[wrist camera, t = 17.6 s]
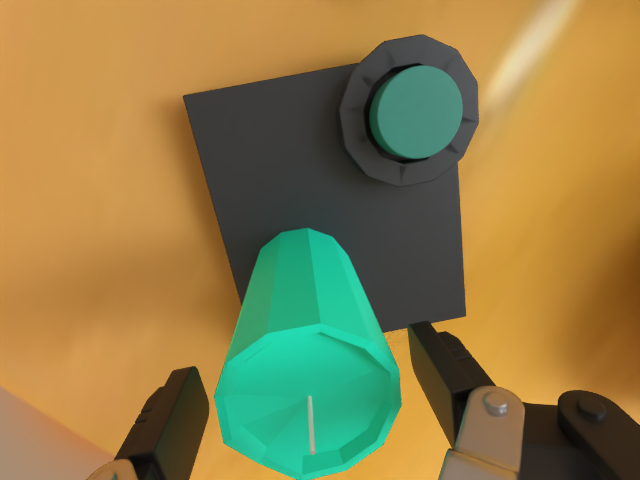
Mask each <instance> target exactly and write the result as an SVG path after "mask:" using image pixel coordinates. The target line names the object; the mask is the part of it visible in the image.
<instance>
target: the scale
mask: <svg viewBox="0 0 640 480" xmlns="http://www.w3.org/2000/svg"><path fill="white" fill-rule="evenodd" d="M421 65H424V66H432V67H435V68H438V69H440V70H442V71H444V72H445V73H446V74H448V75H449V76H450V77H451V78H452V79H453V81H454V82H455V83H456V85H457V87H458V89H459V91H460V94H461V98H462V105H463V112H462V119H461V123H460V126H459V128H458V131H457V133H456V134H455V136H454V138H453V139H452V140H451V142H450V143H449V144H448V145H447V146H446V147H445V148H444V149H442V150H441V151H440V152H438V153H436V154H434V155H432V156H430V157H426V158H421V159H410V158H405V157H400V156H396V155H393V154H390V153H388V152H387V151H385V150H384V149H383V148H382V147H381V146H380V145H379V144H378V143H377V141H376V140H375V138H374V136H373V134H372V131H371V128H370V122H369V113H370V107H371V103H372V100H373V98H374V96H375V94H376V93H377V91H378V90H379V88H380V87H381V86H382V85H383V84H384V83H385V82H386V81H387V80H389V79H390V78H392V77H393V76H395V75H397V74H398V73H400V72H402V71H403V70H405V69H408V68H410V67H414V66H421ZM183 99H184V103H185V106H186V110H187V114H188V117H189V121H190V124H191V128H192V131H193V135H194V138H195V142H196V146H197V149H198V153H199V156H200V160H201V163H202V167H203V170H204V174H205V178H206V181H207V185H208V188H209V192H210V195H211V199H212V202H213V206H214V210H215V213H216V217H217V220H218V224H219V227H220V231H221V235H222V238H223V242H224V245H225V249H226V252H227V256H228V259H229V263H230V267H231V270H232V274H233V277H234V281H235V284H236V288H237V291H238V295H239V299H240V302H241V306H242V305H243V302H244V298H245V295H246V292H247V289H248V285H249V282H250V279H251V276H252V273H253V270H254V267H255V264H256V261H257V258H258V256H259V253H260V250H261V248H262V247H264V246H265V245H266V244H267V243H269V242H270V241H271V240H272V239H274V238H275V237H276V236H277V235H278V234H280V233H281V232H286V231H292V230H298V229H304V228H310V229H312V230H315V231H318V232H321V233H324V234H326V235H329V236H332V237H333V238H334V239H335V240H336V241H337V243H338V244H339V245H340V246H341V247H342V249H343V250H344V251H345V252H346V253H347V255H348V256H349V258H350V260H351V263H352V265H353V267H354V269H355V272H356V274H357V276H358V278H359V281H360V283H361V285H362V287H363V290H364V292H365V294H366V296H367V299H368V301H369V303H370V305H371V308H372V310H373V312H374V314H375V317H376V319H377V321H378V323H379V326H380V328H381V330H382V332H383V333H384V332H389V331H394V330H399V329H404V328H408V324H412V323H418V322H423V321H429V322H430V323H434V322H439V321H444V320H450V319H455V318H460V317H465V316H466V307H465V289H464V270H463V252H462V233H461V215H460V196H459V178H458V161H459V160H460V159H462V157H463V156H464V154H465V152H466V149H467V147H468V145H469V143H470V141H471V138H472V136H473V134H474V132H475V130H476V128H477V125H478V123H479V113H478V84H477V81H476V79H475V78H474V76H473V74H472V73H471V71H470V70H469V68H468V66H467V65H466V63H465V62H464V60H463V58H462V57H461V55H460V53H459V52H458V51H457V50H456V49H454V48H452V47H451V46H448V45H446V44H443V43H441V42H439V41H437V40H435V39H432V38H430V37H428V36H426V35H424V34H423V35H421V34H420V35H415V36H409V37H404V38H399V39H393V40H388V41H384V42H383V43H381V44H380V45H379V46H378V47H377V48H375V49H374V50H373V51H372V52H371V53H370V54H369V55H368V56H367V57H366V58H364V59H363V60H362V61H361V62H360V63H355V64H350V65H344V66H339V67H334V68H328V69H323V70H318V71H312V72H307V73H301V74H296V75H291V76H285V77H280V78H275V79H269V80H264V81H258V82H253V83H248V84H242V85H237V86H232V87H226V88H221V89H215V90H210V91H205V92H199V93H194V94H189V95H184V96H183Z"/></svg>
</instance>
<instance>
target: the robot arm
mask: <svg viewBox="0 0 640 480" xmlns="http://www.w3.org/2000/svg"><path fill="white" fill-rule="evenodd" d="M408 337H409V346H410V355H411V362H412V366H413V370H414V373H415V375H416V377H417V379H418V381H419V383H420V385H421V387H422V389H423V391H424V393H425V395H426V397H427V399H428V401H429V403H430V405H431V407H432V409H433V411H434V413H435V415H436V417H437V419H438V421H439V423H440V425H441V427H442V429H443V431H444V433H445V435H446V437H447V439H448V441H449V443H450V445H451V447H452V449H451V448H449V449H448V451H447V453H446V455H445V458H444V462H443V465H442V468H441V472H440V475H439V479H438V480H640V425H639V424H638V423H637V422H635V421H634V420H633V419H632V418H631V417H630V416H629V415H628V414H627V413H626V412H624V411H623V410H622V409H621V408H620V407H619V406H618V405H616V404H615V403H614V402H612V401H611V400H609V399H607V398H605V397H604V396H601V395H599V394H596V393H593V392H588V391H582V390H572V391H567V392H565V393H563V394H562V395H561V396H560V397H559V399H558V405H542V404H530V403H525V402H522V401H521V400H520V399H519V398H518V397H517V396H516V395H515V394H514V393H512V392H510V391H509V390H507V389H504V388H501V387H497V386H496V385H495V384H494V382H493V381H492V380H491V379H490V378H489V376H488V375H487V374H486V373H485V371H484V370H483V369H482V368H481V366H480V365H479V364H478V363H477V361H476V360H475V359H474V358H472V355H471V354H470V353H469V351H468V350H466V348H465V346H464V345H463V344H462V343H461V341H460V340H459V339H458V338H457V337H455V336H453V335H451V334H450V333H448V332H446V331H444V332H439V333H437V332H436V330H435V329H434V328H433V326H432V325H431V323H430V322H429V321H423V322H418V323H412V324H408ZM208 416H209V401H208V398H207V395H206V392H205V389H204V386H203V383H202V380H201V378H200V375H199V372H198V369H197V368H196V367H195V366H192V367H187V368H182V369H177V370H173V371H172V373H171V374H170V376H169V378H168V380H167V382H166V384H165V386H164V387H159V388H158V389H157V390H156V391H155V392H154V393H153V394H152V395H151V396H150V397H149V398H148V400H147V401H146V403H145V405H144V407H143V409H142V410H141V414H139V416H138V418H137V419H136V421H135V424H134V425H133V427H132V428H131V430H130V432H129V434H128V435H127V437H126V439H125V441H124V443H123V444H122V446H121V448H120V450H119V452H118V453H117V455H116V457H115V459H114V461H112V462H109V463H107V464H105V465H103V466H102V467H100V468H99V469H97V470H96V471H95V472H94V473H92V474H91V475H90V476H89V477H88V478H87V479H86V480H189V479H190V475H191V472H192V469H193V466H194V462H195V459H196V456H197V453H198V449H199V446H200V443H201V440H202V436H203V433H204V430H205V427H206V423H207V420H208Z"/></svg>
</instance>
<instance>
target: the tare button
mask: <svg viewBox="0 0 640 480" xmlns="http://www.w3.org/2000/svg"><path fill="white" fill-rule="evenodd" d="M462 112H463V105H462V98H461V94H460V91H459V89H458V87H457V85H456V83H455V82H454V81H453V79H452V78H451V77H450V76H449V75H448V74H446V73H445V72H444V71H442V70H440V69H438V68H435V67H432V66H424V65H421V66H414V67H410V68H408V69H405V70H403V71H402V72H400V73H398V74H397V75H395V76H393V77H392V78H390V79H389V80H387V81H386V82H385V83H384V84H383V85H382V86H381V87H380V88H379V90H378V91H377V93H376V94H375V96H374V98H373V100H372V103H371V107H370V113H369V122H370V128H371V131H372V134H373V136H374V138H375V140H376V141H377V143H378V144H379V145H380V146H381V147H382V148H383V149H384V150H385V151H387V152H388V153H390V154H393V155H396V156H400V157H405V158H410V159H421V158H426V157H430V156H432V155H434V154H436V153H438V152H440V151H441V150H442V149H444V148H445V147H446V146H447V145H448V144H449V143H450V142H451V140H452V139H453V138H454V136H455V134H456V133H457V131H458V128H459V126H460V123H461V119H462Z"/></svg>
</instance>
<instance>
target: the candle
mask: <svg viewBox="0 0 640 480" xmlns="http://www.w3.org/2000/svg"><path fill="white" fill-rule="evenodd" d="M214 399H215V403H216V408H217V413H218V418H219V423H220V428H221V432H222V437H223V442H224V444H226V445H227V446H229V447H231V448H233V449H234V450H236V451H238V452H240V453H241V454H243V455H245V456H247V457H248V458H250V459H252V460H254V461H255V462H257V463H259V464H261V465H264V466H266V467H268V468H271V469H273V470H275V471H278V472H280V473H282V474H285V475H287V476H289V477H292V478H294V479H296V480H310V479H314V478H318V477H322V476H326V475H330V474H334V473H338V472H342V471H346V470H348V469H349V468H351V467H352V466H354V465H355V464H356V463H358V462H359V461H361V460H362V459H364V458H365V457H366V456H368V455H369V454H371V453H372V452H374V451H375V450H376V449H378V448H379V447H381V446H382V445H383V444H384V442H385V440H386V438H387V435H388V433H389V431H390V429H391V427H392V425H393V423H394V421H395V418H396V416H397V414H398V412H399V410H400V408H401V391H400V377H399V368H398V366H397V364H396V362H395V359H394V357H393V355H392V353H391V350H390V348H389V346H388V344H387V341H386V339H385V337H384V335H383V332H382V330H381V328H380V326H379V323H378V321H377V319H376V317H375V314H374V312H373V310H372V308H371V305H370V303H369V301H368V299H367V296H366V294H365V292H364V290H363V287H362V285H361V283H360V281H359V278H358V276H357V274H356V272H355V269H354V267H353V265H352V263H351V260H350V258H349V256H348V255H347V253H346V252H345V251H344V250H343V249H342V247H341V246H340V245H339V244H338V243H337V241H336V240H335V239H334V238H333V237H332V236H329V235H326V234H324V233H321V232H318V231H315V230H312V229H310V228H304V229H298V230H292V231H286V232H281V233H280V234H278V235H277V236H276V237H275V238H274V239H272V240H271V241H270V242H269V243H267V244H266V245H265V246H264V247H262V248H261V250H260V253H259V256H258V258H257V261H256V264H255V267H254V270H253V273H252V276H251V279H250V282H249V285H248V289H247V292H246V295H245V298H244V302H243V305H242V308H241V311H240V314H239V318H238V321H237V324H236V327H235V330H234V334H233V337H232V340H231V343H230V347H229V350H228V353H227V356H226V359H225V363H224V366H223V369H222V372H221V375H220V379H219V382H218V385H217V388H216V392H215V395H214Z"/></svg>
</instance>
